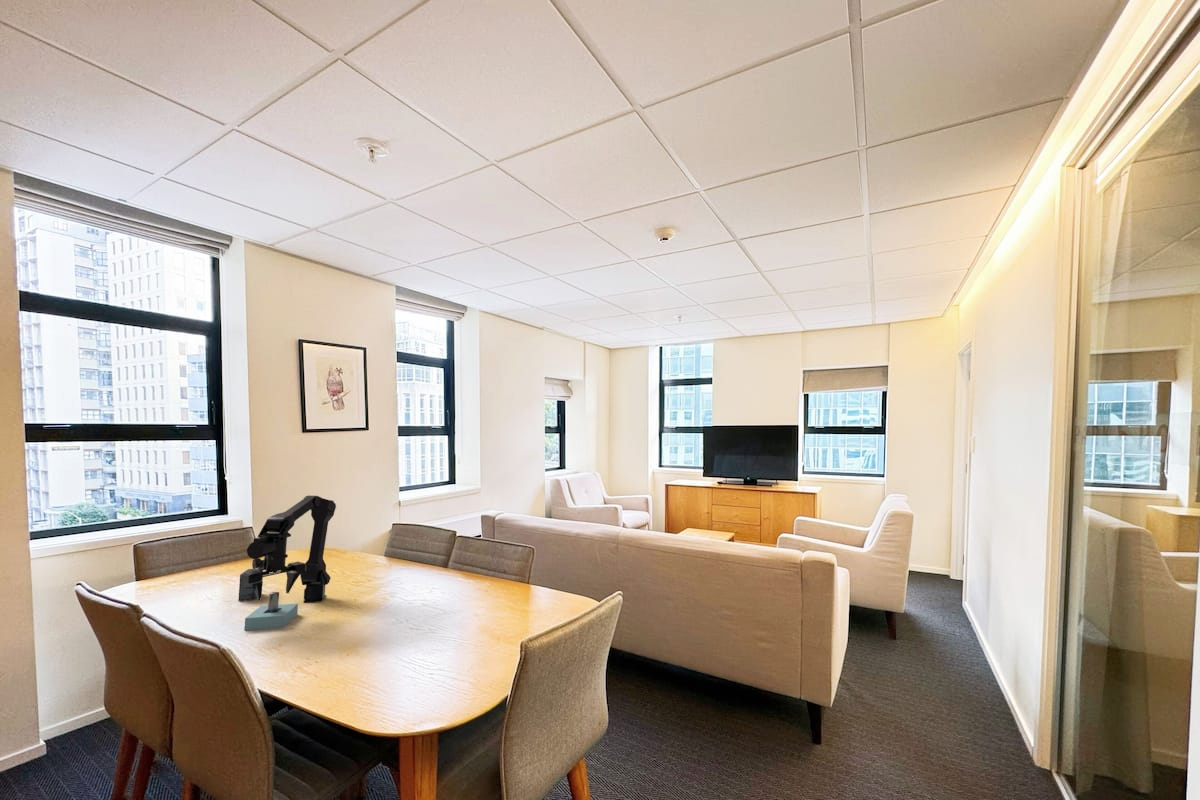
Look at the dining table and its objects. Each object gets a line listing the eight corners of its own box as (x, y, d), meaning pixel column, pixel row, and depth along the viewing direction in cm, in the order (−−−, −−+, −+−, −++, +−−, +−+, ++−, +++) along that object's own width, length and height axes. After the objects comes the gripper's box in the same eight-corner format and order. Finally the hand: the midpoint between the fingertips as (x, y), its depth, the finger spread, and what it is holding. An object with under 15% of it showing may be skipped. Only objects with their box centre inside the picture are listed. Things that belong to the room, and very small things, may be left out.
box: (246, 594, 194) (248, 568, 195) (262, 593, 195) (263, 567, 196) (237, 601, 186) (239, 574, 187) (254, 600, 188) (256, 573, 189)
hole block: (297, 614, 174) (298, 603, 174) (284, 627, 162) (285, 615, 163) (260, 617, 171) (261, 605, 171) (244, 630, 159) (245, 618, 160)
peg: (278, 620, 168) (280, 591, 169) (275, 623, 166) (277, 594, 166) (269, 620, 168) (271, 592, 168) (265, 624, 165) (267, 594, 166)
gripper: (292, 544, 180) (289, 585, 179) (235, 554, 164) (232, 599, 163) (308, 548, 175) (305, 591, 174) (250, 558, 159) (247, 606, 157)
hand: (273, 596), depth 167 cm, fingers open, 9 cm apart
